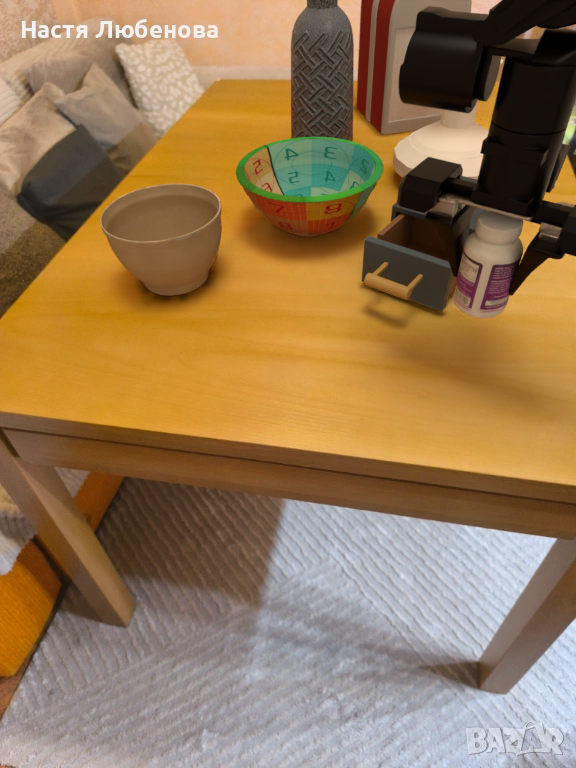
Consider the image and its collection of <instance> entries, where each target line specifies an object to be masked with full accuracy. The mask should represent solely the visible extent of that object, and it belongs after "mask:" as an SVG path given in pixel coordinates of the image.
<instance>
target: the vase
mask: <svg viewBox="0 0 576 768" xmlns="http://www.w3.org/2000/svg"><path fill="white" fill-rule="evenodd" d="M338 1H339V0H306V6H305V8H304V9H303V10H302V11H301V12H300V13H299V15H298V16H297V18H296V20H295V22H294V23H293V27H292V32H291V37H290V38H291V39H290V138H299V137H331V138H338V139H344V140H349V141H353V142H354V67H355V66H354V65H355V64H354V53H355V51H354V50H355V49H354V47H355V46H354V33H353V27H352V24H351V23H352V22H351V21H350V18H349V17H348V15H347V14H346V13H345V11H344V10H343V9H342V8H341V7H340V6H339V5H338Z"/></svg>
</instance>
